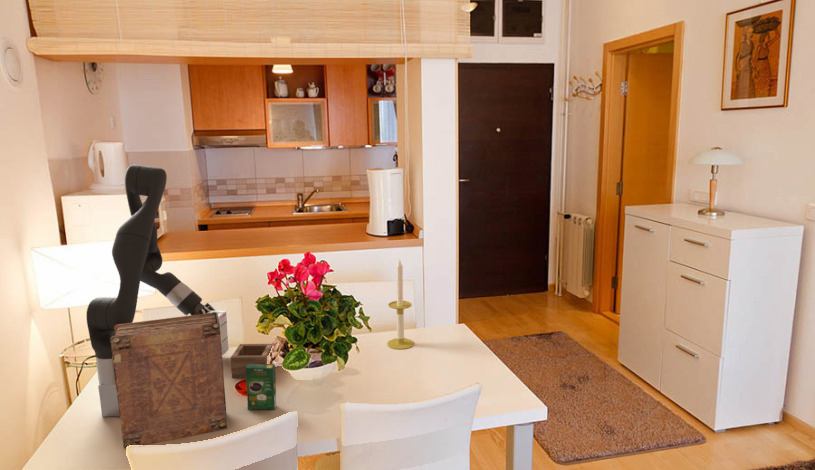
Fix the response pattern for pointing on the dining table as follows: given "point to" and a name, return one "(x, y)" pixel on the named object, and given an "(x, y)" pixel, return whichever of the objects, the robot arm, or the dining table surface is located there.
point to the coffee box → (261, 386)
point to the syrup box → (223, 330)
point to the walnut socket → (248, 357)
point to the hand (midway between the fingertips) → (221, 331)
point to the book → (169, 378)
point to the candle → (400, 314)
